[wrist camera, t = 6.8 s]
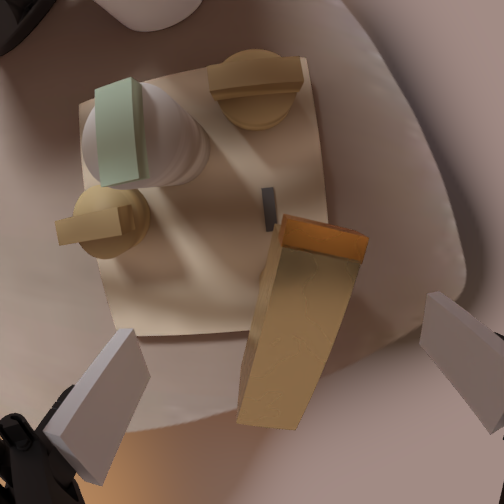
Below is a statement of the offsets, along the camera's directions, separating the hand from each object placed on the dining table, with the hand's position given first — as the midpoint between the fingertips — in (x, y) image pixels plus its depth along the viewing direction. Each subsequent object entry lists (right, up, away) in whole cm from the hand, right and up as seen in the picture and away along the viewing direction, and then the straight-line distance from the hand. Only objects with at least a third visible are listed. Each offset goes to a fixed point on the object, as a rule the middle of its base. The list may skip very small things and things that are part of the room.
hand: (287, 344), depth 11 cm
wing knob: (0, +2, +9) cm, 9 cm away
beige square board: (-5, +8, +10) cm, 14 cm away
